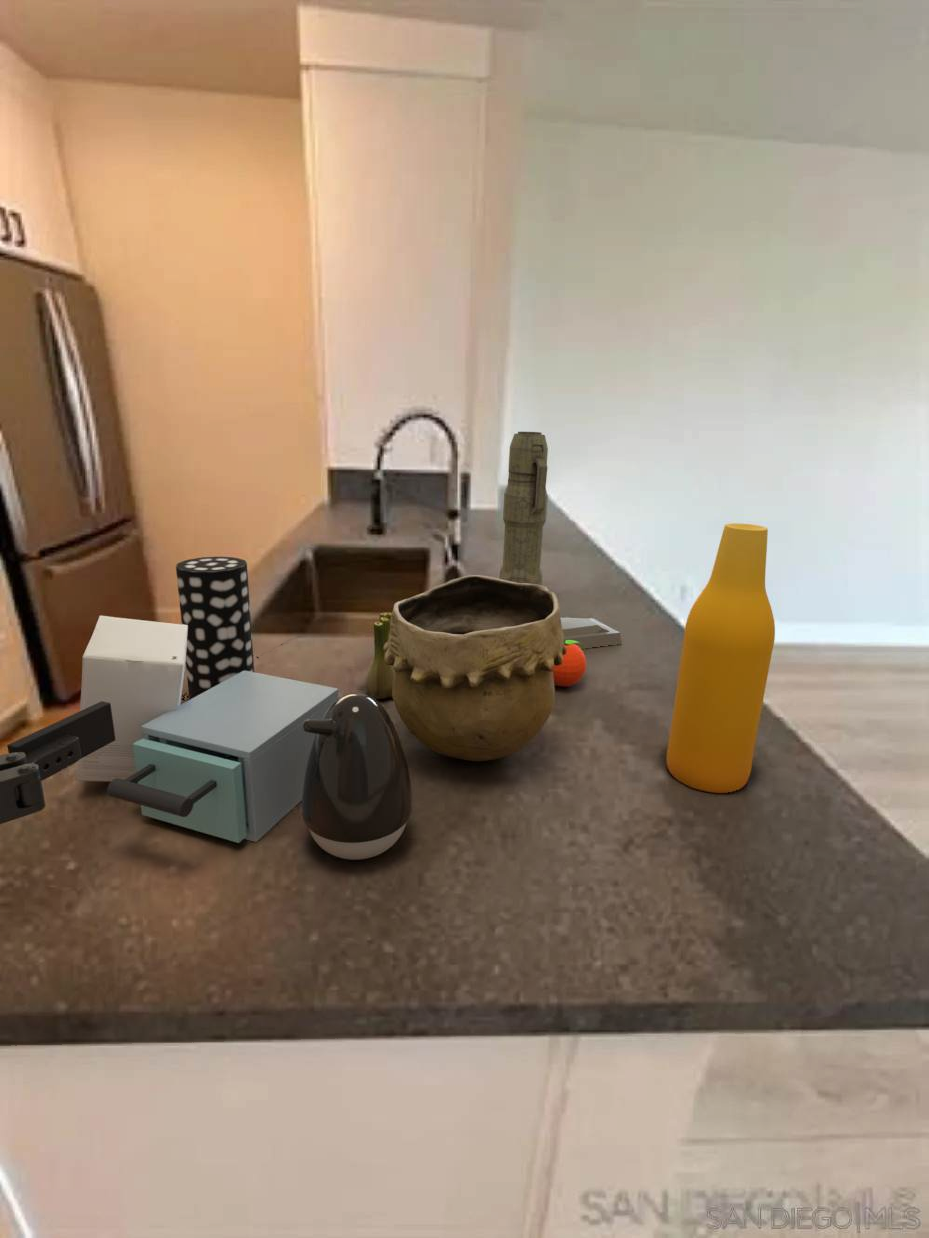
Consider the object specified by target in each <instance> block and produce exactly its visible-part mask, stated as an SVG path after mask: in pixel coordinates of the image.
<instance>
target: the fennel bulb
mask: <svg viewBox="0 0 929 1238" xmlns="http://www.w3.org/2000/svg"><path fill="white" fill-rule="evenodd" d="M391 616H392V612H383V613H379V622H378V621H377V622H373V638H374V639H373V640H374V641H373V643H374V654H373V655H374V656H373V658H372V660H371V662H370V664H369V667H368V669H367V672H366V676H365V688H366V691H367V692H368V693H367V694H369V696H371V697H373V698H375V699H376V700H383V699H389V698H393V696H392V687H393V680H394V676H395V669H394V667H393V665H387V664H386V663H385V653H386V652H385V651H384V645H385V644H386V643H387V642H388V638H389V632H390V620H391Z"/></svg>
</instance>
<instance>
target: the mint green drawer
mask: <svg viewBox="0 0 929 1238" xmlns="http://www.w3.org/2000/svg"><path fill="white" fill-rule="evenodd" d="M159 740H160V743H159V742H155V741H151V740H147V739H140V740H139V741H137V742H135V743H133V749H134V757H135V764H136V773H135V774H133V775H131V776H130V777H128V778H127V779H125V780H122V779H118V778H117V779H114V780H112V781H109V784H108V785H107V790H106V791H107V795H108V796H109V797H112V798H114V799H119V800H123V801H126V802H129V803H132V804H136V805H140V809H141V815H142V816H145V817H147V818H148V817H149V818H152V819H156V820H159V821H162V822H166V823H169V824H172V825H176V826H179V827H183V828H186V829H189V830H193V831H195V832H200V833H203V834H206V835H210V836H213V837H217V838H221V839H224V840H225V841H226V840H227V841H230V842H234V843H237V844H239V843H241V842H242V841H243V840H245V839H244V838H245V837H246V836H247V833H246V823H248V811H247V798H246V785H245V772H244V758H241V757H237V756H233V755H228V754H224V753H220V752H216V751H212V750H208V749H204V748H200V747H196V746H191V745H187V744H183V743H179V742H175V741H171V740H167V739H163V738H159Z"/></svg>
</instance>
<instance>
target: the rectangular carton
mask: <svg viewBox="0 0 929 1238" xmlns="http://www.w3.org/2000/svg"><path fill="white" fill-rule="evenodd" d="M187 632H188V625H182V623H181V624H180V623H171V622H163V621H162V622H161V621H155V620H154V621H152V620H145V619H144V620H142V619H134V618H125V617H117V616H116V617H115V616H109V615H100V614H99V615H98V620H97V621H96V624H95V627H94V630H93V633H92V634H91V637H90V640H89V641H88V644H87V646H86V648H85V651H84V653H83V654H82V668H81V688H80V689H81V691H80V704H79V705H80V706H79V711H81V710H84V709H86V708H88V707H90V706H92V705H94V704H97V703H99V702H101V701H103V702H108V703H110V704H111V711H112V718H113V725H114V732H115V739H116V740H115V741H113V742H111V743H109V744H108V745H106V746H104V747H102V748H100V749H98V750H96V751H95V752H93V753H91V754H89V755H87V756H85V757H84V758H82V759H80V760H79V761H77V762H76V774H75V779H76V781H78V782H79V781H80V782H111V781H112V780H114V779H117V778H118V779H122V780H125V779H127V778H128V777H130V776H131V775H133V774H135V773H136V764H135V757H134V749H133V743H135V742H137V741H139V740H140V739H142V732H141V726H142V725H144V724H146V723H148V722H150V721H152V720H153V719H155V718H157V717H159V716H161V715H163V714H165V713H166V712H168V711H172V710H178V707H179V705H181V703H182V696H183V686H184V677H185V670H186V649H187Z"/></svg>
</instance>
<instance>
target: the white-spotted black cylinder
mask: <svg viewBox="0 0 929 1238" xmlns="http://www.w3.org/2000/svg"><path fill="white" fill-rule="evenodd" d="M175 572H176V582H177V592H178V603H179V612H180V620H181V624H182V625H188V632H187V649H186V661H185V670H186V680H187V689H188V701H189V700H190V699H192V698H194V697H196V696H198V695H200V694H201V693H203V692H205V691H207V690H209V689H211V688H213V687H214V686H216V685H218V684H220V683H222V682H224V681H225V680H227V679H229V678H231V677H233V676H235V675H237V674H238V673H240V672H242V671H244V670H245V671H250V672H255V662H254V661H255V660H254V645H253V632H252V631H253V630H252V618H251V617H252V616H251V603H250V587H249V586H250V585H249V574H248V573H249V572H248V562H247V560H245V559H243V558H238V557H233V556H204V557H203V556H202V557H196V558H190V559H186V560H183V561H180V562H178V563H176V565H175Z"/></svg>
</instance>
